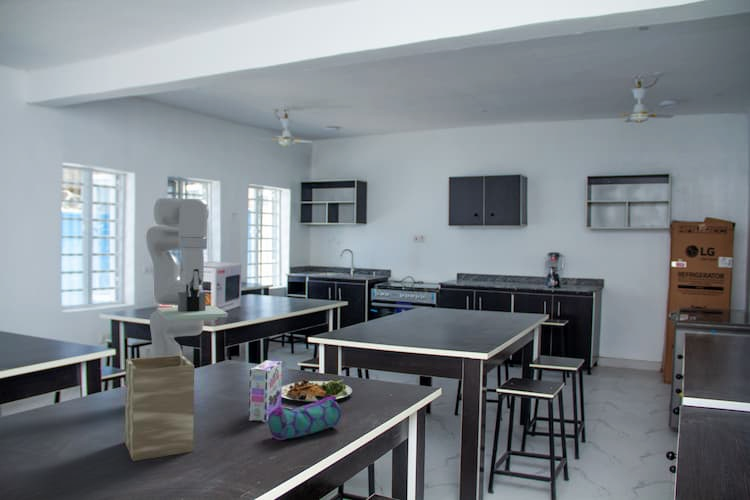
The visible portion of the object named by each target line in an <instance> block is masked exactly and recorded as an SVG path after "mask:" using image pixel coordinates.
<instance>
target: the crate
mask: <svg viewBox="0 0 750 500" xmlns="http://www.w3.org/2000/svg"><path fill="white" fill-rule="evenodd" d="M124 397H125V403H124V404H125V406H124V407H125V413H124V416H125V418H124V444H125V445H126V447H127V450H128V452H129V454H130V457H131V460H132V462H134V461H141V460H147V459H153V458H154V459H155V458H160V457H165V456H171V455H178V454H183V453H190V452H194V421H195V419H194V417H195V415H194V413H195V365H194V364H193V363H192V362H191V361H190V360H189V359H188V358H186V357H185V356H184V355H183V354H182V355H172V356H160V357H152V356H150V357H137V358H125V396H124Z"/></svg>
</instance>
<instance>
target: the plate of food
mask: <svg viewBox="0 0 750 500" xmlns="http://www.w3.org/2000/svg"><path fill="white" fill-rule="evenodd" d="M343 381H344V379H341V380H337V381H334V380H329V381H327V380H326V381H325V380H307V379H304V378H302V379H301V381H298V382H297V381H296V382H293V383H286V384H284V385H282V387H281V398H283V399H284V398H285V399H288V400H291V401H300V402H301V401H302V402H312V403H315V402H317V401H319V400H322V399H325V398H327V397H331V396H332V395H334V396H336V399H335V400H338V399H342V398H345V397H348V396H350V395H351V394H352V393H353V389H352V387H350V386H349V385H346V384H344V383H342V382H343ZM289 394H290V395H289ZM287 395H289V396H290V397H291V398H290V397H288V396H287Z"/></svg>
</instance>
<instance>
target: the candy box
mask: <svg viewBox="0 0 750 500" xmlns="http://www.w3.org/2000/svg"><path fill="white" fill-rule="evenodd" d="M282 368H283V362H282V361H281V360H280V361H279V360H267V359H266V360H264V361H263V362H261V363H260V364H258V365H256V366H254V367H252V368H250V370H249V394H248V395H249V397H248V421H251V422H260V423H267V422H268V418H269V415H270V413H271V412H272V411H273V410H275V409H276V408H278V407H282V397H281V387H282V386H283V385H282V384H283V383H282V379H283V377H282V376H283V375H282V374H283V372H282V371H283V369H282Z"/></svg>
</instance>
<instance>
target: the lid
mask: <svg viewBox="0 0 750 500" xmlns="http://www.w3.org/2000/svg"><path fill="white" fill-rule="evenodd" d="M206 294H207V293H206V291H203V292H199V311H189V312H188V311H187V297H188V292H178V305H177V306H171V307H170V306H169V307H167V306H166V307H165V306H164V307H156V311H157V312H158V313H159V314H160V315H161V316H162V317H163V318H164V319H165V320H171V321H173V322H184V321H204V322H205V321H218V319H219V318H228V315H229V312H226V311H225V310H223V309H221V308H219V307H217V306H215V305H206V303H207V302H206V296H207V295H206Z"/></svg>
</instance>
